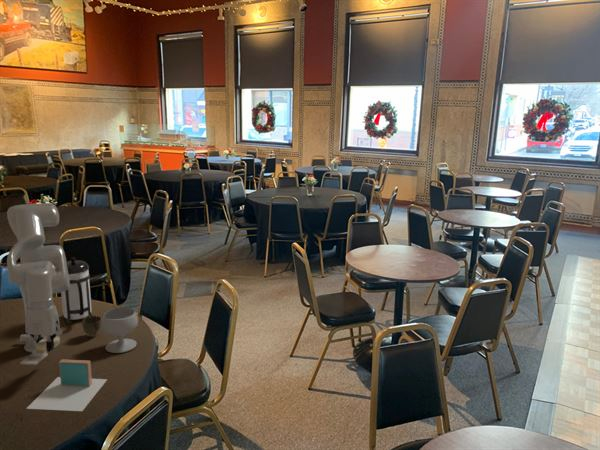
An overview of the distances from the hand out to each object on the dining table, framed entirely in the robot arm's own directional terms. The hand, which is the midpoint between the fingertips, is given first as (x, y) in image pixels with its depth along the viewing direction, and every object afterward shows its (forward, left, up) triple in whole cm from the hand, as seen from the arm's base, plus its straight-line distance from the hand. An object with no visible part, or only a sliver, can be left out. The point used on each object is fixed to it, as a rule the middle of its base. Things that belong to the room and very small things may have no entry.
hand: (45, 349), depth 160 cm
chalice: (+18, +23, -11) cm, 30 cm away
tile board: (+15, -12, -10) cm, 22 cm away
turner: (0, -2, 0) cm, 2 cm away
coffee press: (-12, +47, -11) cm, 49 cm away
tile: (+15, -7, -9) cm, 19 cm away
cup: (+2, +31, -11) cm, 32 cm away
